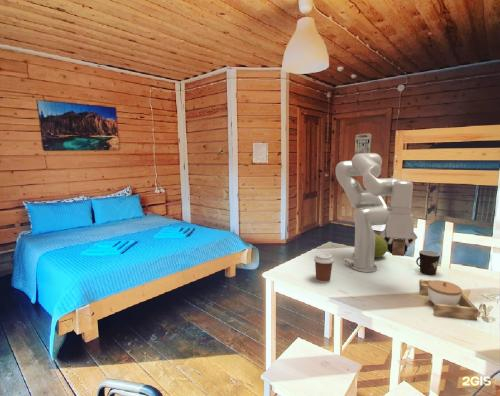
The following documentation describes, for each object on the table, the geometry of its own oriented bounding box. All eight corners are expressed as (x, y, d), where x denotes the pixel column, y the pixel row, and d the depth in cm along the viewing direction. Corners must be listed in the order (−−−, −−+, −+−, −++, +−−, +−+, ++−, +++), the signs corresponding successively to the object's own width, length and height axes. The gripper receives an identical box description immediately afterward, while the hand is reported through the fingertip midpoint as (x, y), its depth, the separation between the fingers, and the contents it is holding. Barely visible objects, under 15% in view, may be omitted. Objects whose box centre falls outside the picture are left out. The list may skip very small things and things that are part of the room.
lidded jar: (420, 299, 116) (422, 276, 115) (444, 297, 117) (447, 275, 116) (440, 313, 106) (442, 289, 104) (467, 311, 107) (469, 287, 105)
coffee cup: (309, 278, 137) (309, 253, 135) (323, 274, 141) (324, 250, 139) (322, 285, 129) (323, 260, 127) (337, 281, 133) (338, 256, 131)
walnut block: (392, 255, 121) (393, 241, 120) (389, 251, 125) (390, 238, 124) (404, 256, 120) (405, 242, 119) (401, 252, 124) (402, 238, 123)
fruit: (381, 251, 171) (392, 233, 162) (379, 268, 160) (391, 249, 151) (354, 241, 175) (363, 222, 166) (350, 256, 164) (360, 237, 155)
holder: (434, 315, 105) (435, 305, 104) (413, 284, 129) (414, 275, 128) (476, 320, 101) (478, 309, 101) (446, 287, 126) (447, 278, 125)
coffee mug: (432, 269, 145) (434, 250, 143) (442, 276, 137) (444, 256, 135) (408, 268, 146) (409, 249, 145) (416, 275, 138) (417, 255, 136)
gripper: (380, 211, 118) (376, 254, 121) (426, 213, 114) (421, 257, 117) (376, 207, 125) (373, 248, 128) (420, 209, 121) (416, 251, 124)
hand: (396, 252), depth 122 cm, fingers closed on walnut block, 4 cm apart
